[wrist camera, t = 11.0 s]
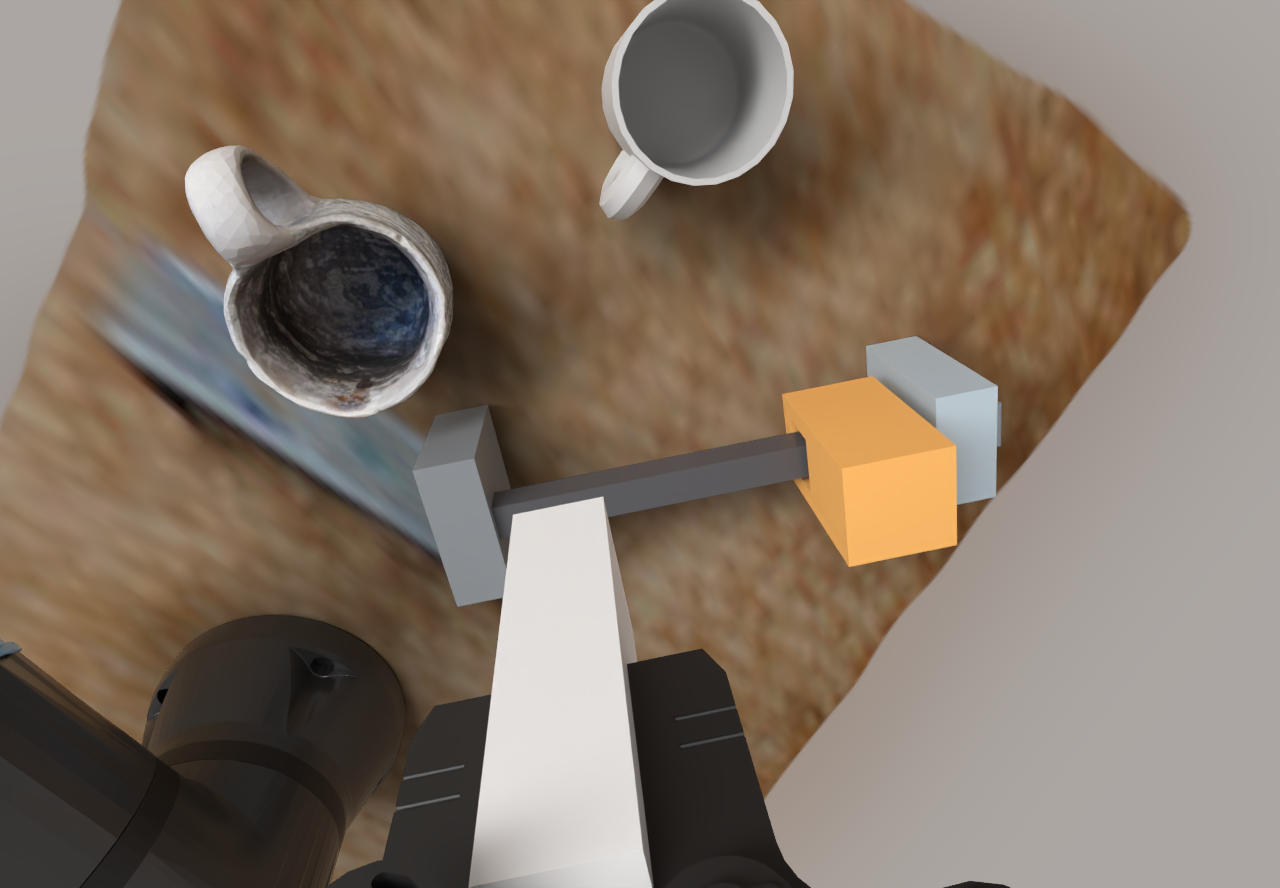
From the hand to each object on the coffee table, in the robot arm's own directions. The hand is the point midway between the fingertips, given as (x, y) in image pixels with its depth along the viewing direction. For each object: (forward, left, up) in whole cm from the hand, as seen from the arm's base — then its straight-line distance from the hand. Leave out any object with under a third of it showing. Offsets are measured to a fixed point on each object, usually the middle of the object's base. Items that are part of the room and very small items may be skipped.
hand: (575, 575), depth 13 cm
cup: (+6, +6, -31) cm, 32 cm away
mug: (-11, +2, -31) cm, 33 cm away
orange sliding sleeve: (+12, -11, -27) cm, 32 cm away
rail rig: (+5, -11, -30) cm, 33 cm away
